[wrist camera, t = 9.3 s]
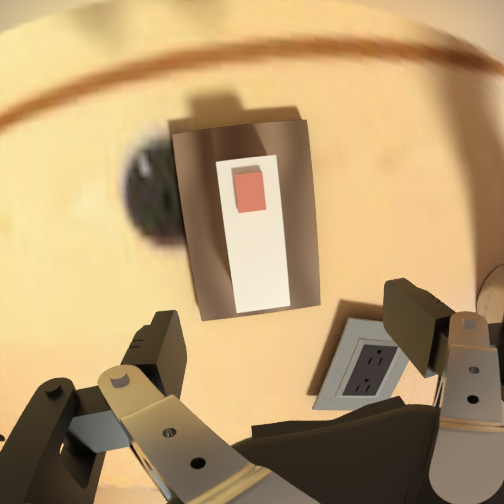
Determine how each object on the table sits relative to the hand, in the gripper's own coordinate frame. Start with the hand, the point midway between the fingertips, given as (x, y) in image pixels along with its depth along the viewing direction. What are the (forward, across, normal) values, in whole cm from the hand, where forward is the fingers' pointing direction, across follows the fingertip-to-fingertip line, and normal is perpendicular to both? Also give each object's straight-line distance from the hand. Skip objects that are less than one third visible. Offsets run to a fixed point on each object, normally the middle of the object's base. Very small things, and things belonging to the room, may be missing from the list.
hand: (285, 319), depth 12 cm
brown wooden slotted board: (+20, 0, 0) cm, 20 cm away
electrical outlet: (+20, -12, +19) cm, 30 cm away
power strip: (+20, 0, 0) cm, 20 cm away
